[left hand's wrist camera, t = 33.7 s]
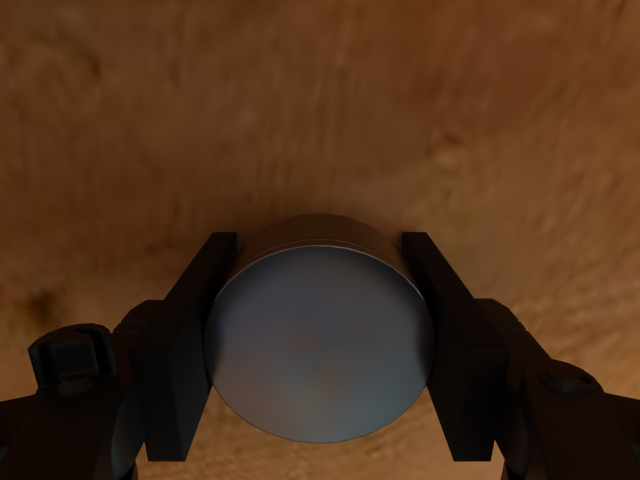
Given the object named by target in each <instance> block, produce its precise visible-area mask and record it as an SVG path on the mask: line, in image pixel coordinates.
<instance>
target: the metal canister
mask: <svg viewBox="0 0 640 480" xmlns="http://www.w3.org/2000/svg"><path fill="white" fill-rule="evenodd" d="M203 355H204V361H205V365H206V369H207V372H208V374H209V377H210V379H211V382H212V384H213V385H214V387H215V389H216V390H217V392H218V394H219V395H220V396H221V398H222V399H223V400H224V401H225V403H226V404H227V405H228V406H229V407H230V408H231V409H232V410H233V411H234V412H235V413H236V414H237V415H239V416H240V417H241V418H243V419H244V420H245V421H247V422H248V423H250V424H252V425H253V426H255V427H257V428H258V429H261V430H263V431H265V432H267V433H269V434H272V435H275V436H278V437H281V438H284V439H288V440H293V441H298V442H307V443H332V442H341V441H346V440H351V439H355V438H358V437H362V436H365V435H367V434H370V433H372V432H374V431H377V430H379V429H381V428H382V427H384V426H386V425H388V424H390V423H391V422H392V421H394V420H395V419H397V418H398V417H399V416H401V415H402V414H403V413H404V412H405V411H406V410H407V409H408V408H409V407H410V406H411V405H412V404H413V403H414V402H415V400H416V399H417V398H418V397H419V395H420V394H421V392H422V391H423V389H424V388H425V386H426V384H427V382H428V380H429V377H430V375H431V372H432V369H433V366H434V362H435V355H436V331H435V325H434V321H433V318H432V315H431V312H430V309H429V307H428V305H427V303H426V301H425V299H424V297H423V295H422V293H421V291H420V289H419V287H418V284H417V282H416V280H415V278H414V276H413V274H412V272H411V270H410V268H409V266H408V264H407V262H406V260H405V259H404V257H403V256H402V254H401V253H400V251H399V250H398V249H397V248H396V246H395V245H394V244H393V243H392V242H391V241H390V240H389V239H388V238H386V237H385V236H384V235H383V234H381V233H380V232H379V231H377V230H375V229H374V228H372V227H370V226H369V225H367V224H364V223H362V222H360V221H357V220H355V219H352V218H348V217H344V216H340V215H333V214H307V215H300V216H295V217H291V218H287V219H285V220H282V221H279V222H277V223H275V224H273V225H271V226H269V227H267V228H265V229H264V230H262V231H261V232H259V233H258V234H257V235H255V236H254V237H253V238H252V239H251V240H250V241H249V242H248V243H247V244H245V245H244V247H243V248H242V249H241V251H240V252H239V253H238V254H237V256H236V258H235V259H234V261H233V263H232V265H231V266H230V268H229V270H228V273H227V275H226V277H225V279H224V281H223V283H222V285H221V287H220V289H219V291H218V293H217V295H216V297H215V299H214V301H213V303H212V305H211V307H210V310H209V313H208V315H207V318H206V322H205V326H204V331H203Z"/></svg>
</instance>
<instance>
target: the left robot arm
mask: <svg viewBox="0 0 640 480" xmlns="http://www.w3.org/2000/svg"><path fill="white" fill-rule="evenodd" d="M236 256H237V240H236V232H213V233H212V234H211V236H210V237H209V239H208V240H207V241H206V243H205V244H204V245H203V247H202V248H201V250H200V251H199V252H198V254H197V255H196V256H195V258H194V259H193V260H192V262H191V263H190V265H189V266H188V267H187V269H186V270H185V271H184V273H183V274H182V276H181V277H180V278H179V280H178V281H177V282H176V284H175V285H174V287H173V288H172V289H171V291H170V292H169V293H168V295H167V296H166V297H165V299H164V300H146V301H144V302H143V303H141V304H139V305H138V306H136V307H134V308H133V309H131V310H130V311H129V312H128V314H127V315H126V316H125V317H124V318H123V319H122V321H121V323H119V324H118V325H117V327H116V328H115V329H114V330H113V333H111V334H110V331H109V330H108V329H107V328H106V327H104V326H103V325H98V324H93V323H88V324H76V325H71V326H66V327H62V328H60V329H57V330H55V331H52V332H49V333H47V334H46V335H44V336H42V337H41V338H39V339H37V340H36V341H35V342H34V343H33V344H32V345H31V346H30V347H29V348H28V352H29V356H30V359H31V363H32V367H33V370H34V374H35V377H36V381H37V384H38V389H37V391H36V393H35V394H34V395H30V396H26V397H21V398H16V399H11V400H7V401H2V402H0V480H138V472H137V466H136V461H135V459H136V457H137V455H138V453H139V451H140V449H141V447H142V445H143V443H144V441H145V446H146V451H147V457H148V461H185V460H186V457H187V455H188V452H189V449H190V446H191V443H192V441H193V438H194V435H195V432H196V430H197V427H198V424H199V421H200V418H201V416H202V413H203V410H204V407H205V405H206V402H207V399H208V396H209V394H210V391H211V388H212V385H213V384H212V382H211V379H210V377H209V374H208V372H207V369H206V365H205V361H204V355H203V331H204V326H205V322H206V318H207V315H208V313H209V310H210V307H211V305H212V303H213V301H214V299H215V297H216V295H217V293H218V291H219V289H220V287H221V285H222V283H223V281H224V279H225V277H226V275H227V273H228V270H229V268H230V266H231V265H232V263H233V261H234V259H235V258H236ZM402 256H403V257H404V259H405V260H406V262H407V264H408V266H409V268H410V270H411V272H412V274H413V276H414V278H415V280H416V282H417V284H418V287H419V289H420V291H421V293H422V295H423V297H424V299H425V301H426V303H427V305H428V307H429V309H430V312H431V315H432V318H433V321H434V325H435V331H436V355H435V362H434V366H433V369H432V372H431V375H430V377H429V380H428V382H427V384H426V385H427V388H428V391H429V393H430V396H431V399H432V402H433V405H434V407H435V410H436V413H437V416H438V418H439V421H440V424H441V427H442V430H443V432H444V435H445V438H446V441H447V443H448V446H449V449H450V452H451V455H452V457H453V460H454V461H491V456H492V451H493V446H494V440H495V441H496V443H497V445H498V447H499V449H500V451H501V453H502V455H503V457H504V459H505V461H504V466H503V471H502V476H501V480H640V400H638V399H633V398H628V397H623V396H618V395H613V394H609V393H605V392H604V391H603V389H602V387H601V385H600V384H599V383H598V382H597V380H596V379H595V378H594V377H593V376H591V375H590V374H588V373H587V372H585V371H584V370H583V369H581V368H578V367H576V366H574V365H572V364H569V363H566V362H562V361H558V360H554V359H551V358H550V357H549V355H548V354H547V353H546V352H545V351H544V349H543V348H542V347H541V346H540V345H539V344H538V342H537V341H536V340H535V339H534V338H533V337H532V335H531V334H530V333H529V332H528V331H526V328H525V327H524V326H523V325H522V324H521V322H518V319H517V318H516V317H515V315H514V314H513V313H512V312H511V311H510V309H509V308H507V307H506V306H504V305H502V304H501V303H499V302H497V301H496V300H494V299H474V298H473V296H472V295H471V293H470V292H469V291H468V289H467V288H466V287H465V285H464V284H463V282H462V281H461V280H460V278H459V277H458V276H457V274H456V273H455V271H454V270H453V269H452V267H451V266H450V265H449V263H448V262H447V260H446V259H445V258H444V256H443V255H442V254H441V252H440V251H439V250H438V248H437V247H436V245H435V244H434V243H433V241H432V240H431V239H430V237H429V236H428V234H427V233H426V232H403V241H402Z"/></svg>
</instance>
